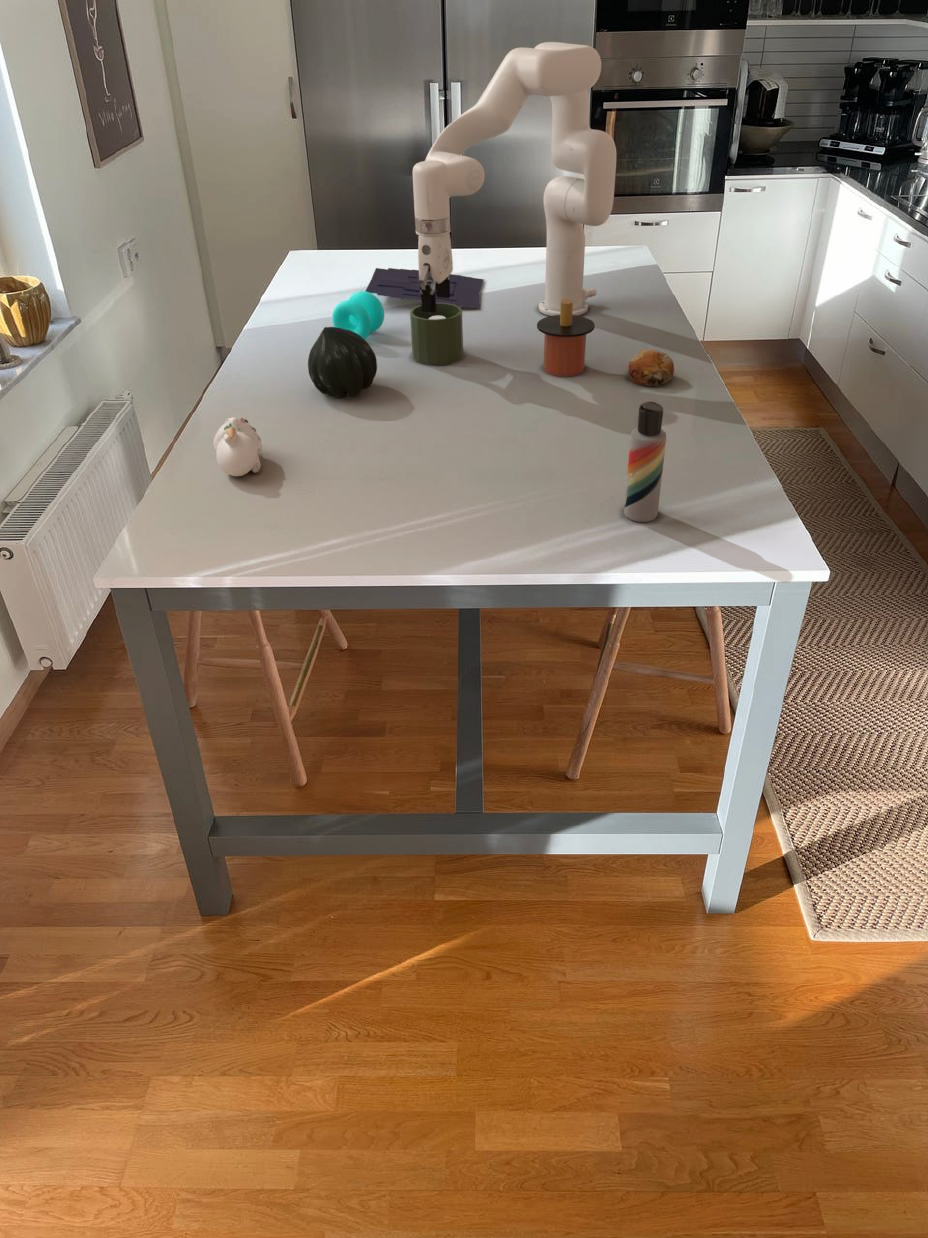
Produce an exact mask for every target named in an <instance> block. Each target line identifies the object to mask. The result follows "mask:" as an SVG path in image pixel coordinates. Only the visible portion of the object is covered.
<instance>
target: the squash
mask: <svg viewBox="0 0 928 1238" xmlns="http://www.w3.org/2000/svg"><path fill="white" fill-rule="evenodd" d="M307 369H308V375H309V378H310V381H311V382H312V383H313V386H314V387H315V388H316V389H317V390H318V391H319V392H320V393H321V394H323V395H327V396H333V397H335V398H338V399H343V398H345V397H346V396H347V395H348V397H349V396H350V397H351V398H354V397H357V396H359V395H360V394H361V392H362V390H367V389H369V388H370V387H371V386H372V385H373V382H374V379H375V378H376V375H377V372H378V362H377V356H376V354H375V351H374V350H373V348H372V347H371V345H370V344H369V342H368V341H367V340H366V339H363V338H362V337H361V336H360V335H359V334H357V333H355V332H353V331H350V330H346V329H342V328H337V327H334V326H328V327H327V326H325V327H323V329H322V330H321V332H320V334H319V336H318V337H317V339H316V341H315V342H314V344H313V345H312V347H311V349H310V351H309V353H308V359H307Z"/></svg>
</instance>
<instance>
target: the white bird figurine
mask: <svg viewBox="0 0 928 1238" xmlns="http://www.w3.org/2000/svg"><path fill="white" fill-rule="evenodd" d="M213 448H214V450H215V457H216V458H215V459H216V461H217V464H218V466H219V468H220V469H221V471H223V472H224V473H225V474H227V475H229V476H232V477H242V476H245V475H246V474H248V473H249V472H250V471H252V472H253V473H255V474H256V473H258V472H259V471H260V469H261V466H262V464H261V461H260V456H259V452H260V451H262V450H263V443H262V439H261V437H260V435H259V434H258V433H257V430H256V428H255V427H253V425H251V424H250V422H249V421H248V419H245V418H243V417H242V416H240V417H235V416H234V417H227V418H226V419H225V422H224V423H223V424H222V425H221V426H219V429H218V430H217V432H216V434H215V436H214V439H213Z"/></svg>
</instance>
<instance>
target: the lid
mask: <svg viewBox="0 0 928 1238" xmlns="http://www.w3.org/2000/svg"><path fill="white" fill-rule="evenodd" d="M572 309H573V301H571V300H562V301H561V308H560V315H554V316H549V315H548V316H546V317H544V318H541V319H539V320H538V321H537V324H536V329H537V330H538V331H539V332H540V333H542V334H544V335H545V334H547V335H551V336H557V337H576V336H582V335H586V336H587V335H588V334H590V333H592V332H593V331H594V330H595V328H596V324H595V322H594V321H593V320H592V319H590V318H588V317H586V316H582V315H578V316H576V315H572Z"/></svg>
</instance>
